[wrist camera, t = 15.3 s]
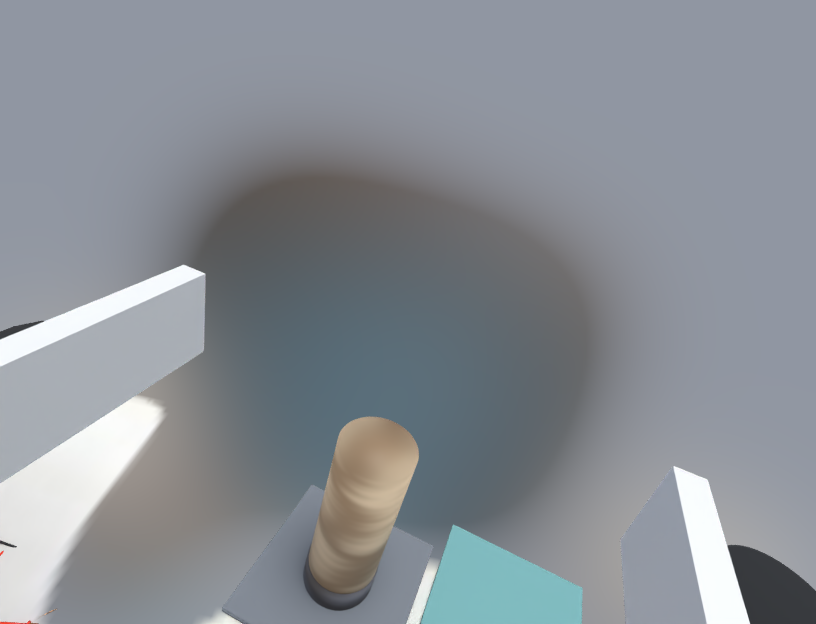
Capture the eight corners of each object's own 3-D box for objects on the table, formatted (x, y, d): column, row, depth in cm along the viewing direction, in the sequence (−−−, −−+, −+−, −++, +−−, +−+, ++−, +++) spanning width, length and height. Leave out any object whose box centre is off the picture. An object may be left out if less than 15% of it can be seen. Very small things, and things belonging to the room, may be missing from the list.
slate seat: (432, 549, 40) (433, 546, 40) (377, 702, 30) (379, 699, 30) (311, 487, 43) (311, 484, 42) (222, 610, 32) (222, 607, 32)
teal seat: (580, 590, 41) (582, 588, 40) (576, 757, 30) (579, 755, 30) (451, 527, 43) (453, 524, 43) (407, 662, 32) (409, 659, 32)
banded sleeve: (383, 561, 38) (431, 438, 31) (354, 624, 33) (402, 497, 27) (325, 529, 39) (359, 404, 32) (289, 587, 34) (319, 455, 28)
